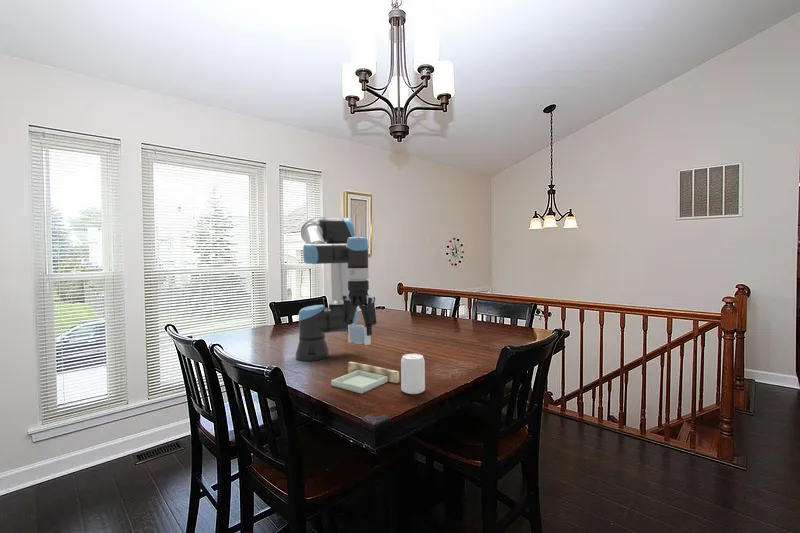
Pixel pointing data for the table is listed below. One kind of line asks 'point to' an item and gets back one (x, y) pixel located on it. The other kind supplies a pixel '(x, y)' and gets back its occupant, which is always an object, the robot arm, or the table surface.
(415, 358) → the beverage can
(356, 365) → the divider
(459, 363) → the table surface
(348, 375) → the tray
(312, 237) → the robot arm
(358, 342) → the ball
